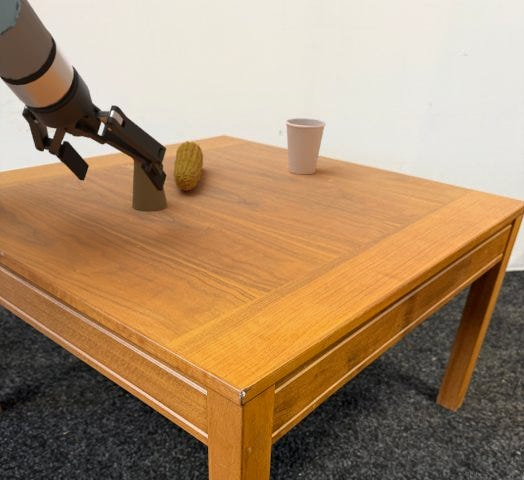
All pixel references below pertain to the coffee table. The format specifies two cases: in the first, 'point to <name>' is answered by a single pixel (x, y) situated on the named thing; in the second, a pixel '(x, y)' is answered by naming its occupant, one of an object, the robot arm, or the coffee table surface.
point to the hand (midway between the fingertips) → (122, 177)
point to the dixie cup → (304, 144)
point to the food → (188, 165)
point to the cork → (146, 192)
